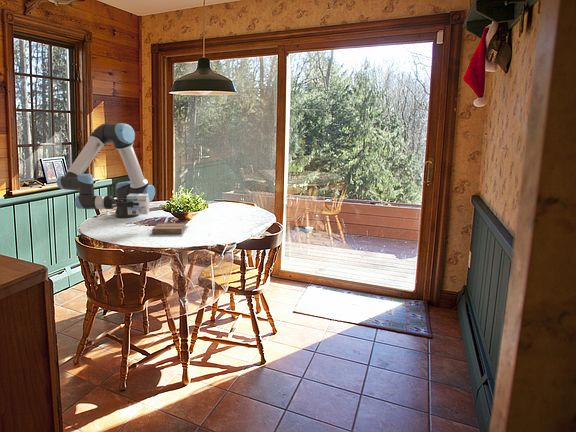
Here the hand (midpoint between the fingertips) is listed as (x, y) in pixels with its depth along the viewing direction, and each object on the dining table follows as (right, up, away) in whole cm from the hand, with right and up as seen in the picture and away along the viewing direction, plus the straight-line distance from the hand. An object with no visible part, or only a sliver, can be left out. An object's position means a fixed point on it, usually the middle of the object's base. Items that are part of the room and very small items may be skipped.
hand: (147, 202), depth 230 cm
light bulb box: (-5, -6, +1) cm, 8 cm away
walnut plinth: (+11, -16, +6) cm, 20 cm away
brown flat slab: (+11, -17, +6) cm, 21 cm away
